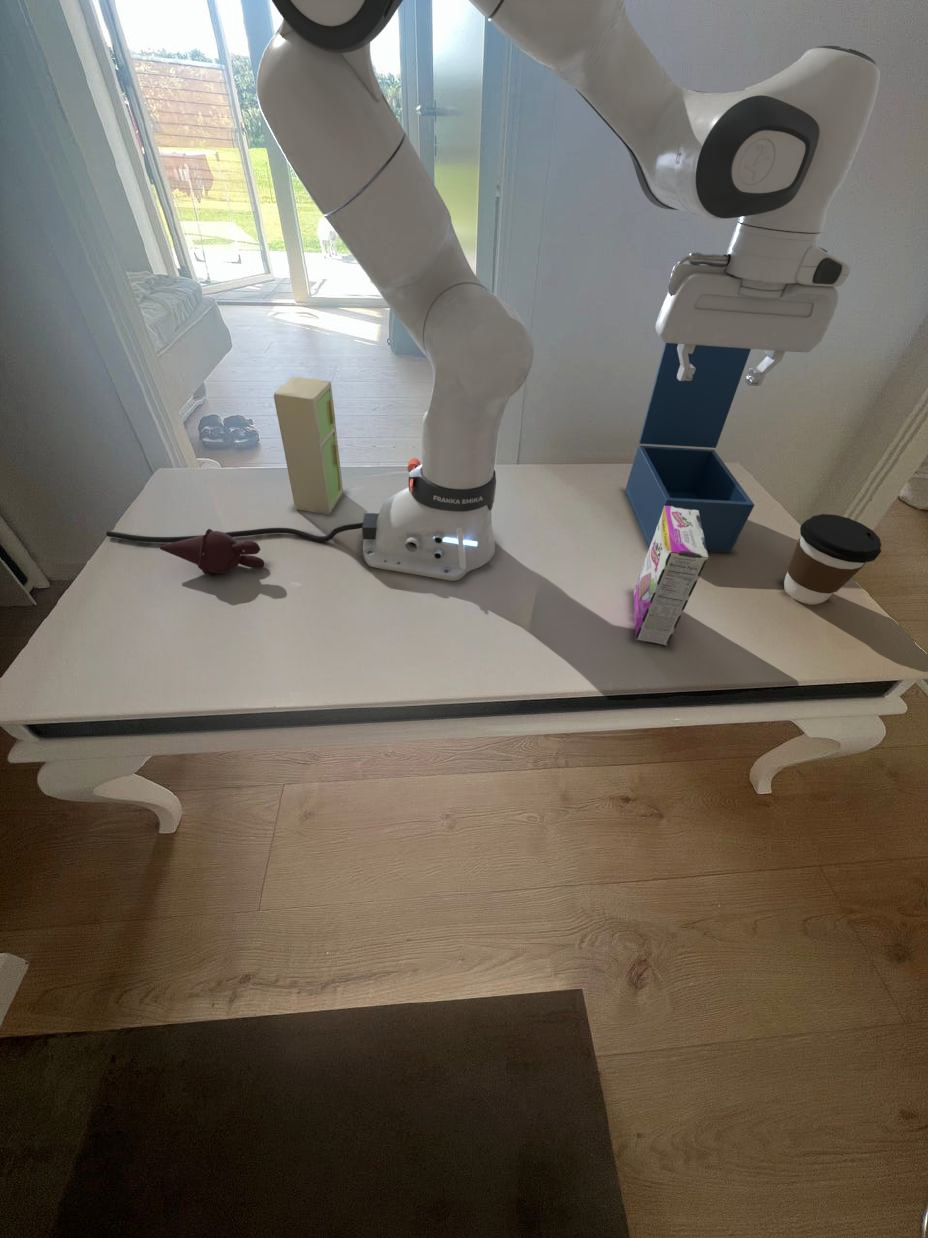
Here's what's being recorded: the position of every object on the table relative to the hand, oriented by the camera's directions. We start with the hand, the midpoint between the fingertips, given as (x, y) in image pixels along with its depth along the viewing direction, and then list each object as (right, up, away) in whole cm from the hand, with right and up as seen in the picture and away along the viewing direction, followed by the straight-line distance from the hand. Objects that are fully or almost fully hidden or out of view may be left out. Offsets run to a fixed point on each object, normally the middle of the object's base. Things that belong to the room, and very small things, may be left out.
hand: (717, 382), depth 70 cm
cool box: (+6, -13, +30) cm, 34 cm away
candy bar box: (-6, -32, +10) cm, 34 cm away
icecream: (-73, -24, +13) cm, 78 cm away
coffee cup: (+22, -27, +17) cm, 39 cm away
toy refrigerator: (-61, -10, +28) cm, 68 cm away
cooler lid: (+8, +10, +24) cm, 27 cm away
